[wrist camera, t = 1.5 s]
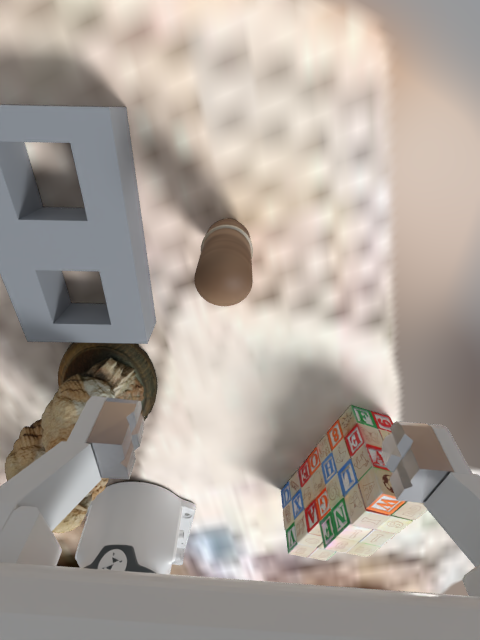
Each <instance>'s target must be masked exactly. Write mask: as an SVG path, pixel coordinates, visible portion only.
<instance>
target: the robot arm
mask: <svg viewBox="0 0 480 640" xmlns="http://www.w3.org/2000/svg"><path fill="white" fill-rule="evenodd" d="M141 410H142V405H141V401H136V400H127V399H117V398H108V397H97V396H92V397H91V398H90V399H89V400H88V401H87V403H86V405H85V407H84V409H83V411H82V413H81V414H80V416H79V418H78V420H77V422H76V424H75V426H74V428H73V430H72V432H71V434H70V436H69V438H68V440H67V442H66V441H61V442H60V443H59V444H57V445H56V446H55V447H53V448H52V449H50V450H49V451H48V452H46V453H45V454H44V455H42V456H41V457H40V458H38V459H37V460H36V461H34V462H33V463H31V464H30V465H29V466H27V467H26V468H25V469H23V470H22V471H21V472H19V473H18V474H16V475H15V476H14V477H12V478H11V479H10V480H8V481H7V482H6V483H4V484H3V485H2V486H0V640H480V476H479V475H477V474H473V473H472V472H471V470H470V468H469V466H468V464H467V463H466V461H465V459H464V457H463V455H462V453H461V452H460V450H459V448H458V446H457V444H456V443H455V441H454V439H453V437H452V435H451V434H450V432H449V430H448V428H446V427H445V426H444V425H433V424H426V423H411V422H395V423H393V424H392V426H391V428H390V429H391V432H392V433H391V434H389V435H387V436H386V437H385V439H384V441H383V443H382V458H383V461H384V464H385V466H386V467H387V468H388V469H389V470H390V471H391V472H392V474H391V477H390V479H389V480H390V482H391V485H392V488H393V491H394V494H395V497H396V500H399V501H408V502H417V503H424V504H423V505H424V506H425V507H426V508H427V510H428V511H429V512H430V513H431V514H432V516H433V517H434V518H435V519H436V520H437V522H438V523H439V524H440V525H441V526H442V528H443V529H444V530H445V531H446V532H447V533H448V535H449V536H450V537H451V538H452V539H453V541H454V542H455V543H456V544H457V545H458V547H459V548H460V549H461V550H462V551H463V553H464V554H465V555H466V556H467V557H468V559H469V560H470V561H471V562H472V563H473V564H474V566H475V568H474V569H472V570H471V571H470V572H468V573H467V574H466V575H465V576H464V578H463V582H464V585H465V587H466V590H467V592H468V595H469V596H459V595H446V594H432V593H418V592H405V591H391V590H377V589H363V588H350V587H336V586H322V585H308V584H295V583H281V582H267V581H253V580H239V579H226V578H212V577H198V576H184V575H170V571H171V565H172V564H175V565H182V564H183V558H184V550H185V548H186V544H187V541H188V537H189V533H190V529H191V526H192V522H193V518H194V514H195V510H196V505H195V504H193V503H191V502H189V501H186V500H183V499H181V498H179V497H177V496H176V495H175V494H173V493H172V492H170V491H169V490H167V489H165V488H162V487H160V486H157V485H154V484H149V483H144V482H121V483H116V484H112V485H110V486H107V487H106V488H105V489H104V491H102V492H101V493H99V494H98V495H97V496H96V498H95V499H94V500H93V501H91V504H90V506H89V507H88V512H87V514H86V515H87V519H86V522H85V526H84V529H83V532H82V535H81V538H80V542H79V545H78V548H77V552H76V556H75V559H76V560H77V563H78V565H79V566H80V568H74V567H60V566H56V565H57V562H58V559H59V557H60V554H61V552H62V549H61V547H60V545H59V543H58V541H57V540H56V538H55V536H54V535H53V533H52V531H53V530H54V529H55V527H56V526H57V525H58V524H59V523H60V522H61V521H62V520H63V519H64V518H65V517H66V516H67V515H68V514H69V513H70V512H71V511H72V510H73V509H74V508H75V507H76V506H77V505H78V504H79V503H80V502H81V500H82V499H83V498H84V497H85V496H86V495H87V494H88V493H89V492H90V491H91V490H92V489H93V488H94V487H95V486H96V485H97V484H98V483H99V482H100V481H101V478H112V479H130V475H131V472H132V469H133V466H134V463H135V460H136V458H135V452H134V451H135V450H136V449H137V448H138V447H139V446H140V443H141V440H142V436H143V430H144V418H143V416H142V415H141V414H140V413H141Z"/></svg>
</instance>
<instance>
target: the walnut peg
mask: <svg viewBox="0 0 480 640" xmlns="http://www.w3.org/2000/svg"><path fill="white" fill-rule="evenodd" d="M252 254H253V248H252V243H251V240H250V236H249V233H248V231H247V229H246V228H245V227H244V226H243V225H242V224H241V223H239V222H238V221H236V220H234V219H229V218H227V219H223V220H220V221H217V222H216V223H214V224H213V225H212V226H211V227H210V228H209V230H208V232H207V234H206V235H205V237H204V239H203V242H202V245H201V255H200V259H199V262H198V266H197V269H196V273H195V285H196V288H197V291H198V292H199V294H200V295H201V296H202V297H203V298H204V299H205V300H206V301H208V302H210V303H212V304H214V305H218V306H231V305H234V304H237V303H239V302H241V301H242V300H243V299H244V298H246V296H247V295H248V294H249V292H250V290H251V287H252V262H251V259H252Z"/></svg>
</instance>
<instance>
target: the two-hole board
mask: <svg viewBox="0 0 480 640" xmlns="http://www.w3.org/2000/svg"><path fill="white" fill-rule="evenodd" d="M24 142H55V143H70V144H71V149H72V153H73V158H74V162H75V166H76V171H77V175H78V180H79V184H80V189H81V193H82V197H83V202H84V206H85V208H63V207H43V205H42V201H41V198H40V195H39V191H38V188H37V184H36V181H35V177H34V174H33V171H32V167H31V164H30V160H29V157H28V153H27V150H26V147H25V143H24ZM62 271H99V272H100V277H101V281H102V286H103V290H104V295H105V299H106V303H107V304H90V303H71V301H70V297H69V294H68V291H67V287H66V284H65V280H64V277H63V273H62ZM0 274H1V277H2V279H3V282H4V284H5V287H6V289H7V292H8V294H9V297H10V299H11V302H12V304H13V307H14V309H15V312H16V314H17V317H18V319H19V322H20V324H21V327H22V329H23V332H24V334H25V337H26V339H27V341H28V342H82V343H136V344H148V341H149V339H150V336H151V334H152V331H153V329H154V326H155V324H156V317H155V310H154V303H153V296H152V288H151V281H150V274H149V267H148V260H147V253H146V245H145V238H144V231H143V224H142V217H141V210H140V202H139V195H138V188H137V181H136V174H135V167H134V159H133V152H132V145H131V138H130V131H129V124H128V117H127V109H126V107H96V106H47V105H0Z"/></svg>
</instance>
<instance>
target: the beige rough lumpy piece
mask: <svg viewBox="0 0 480 640" xmlns="http://www.w3.org/2000/svg"><path fill="white" fill-rule="evenodd" d="M58 385H59V389H58V392H57V393H56V394H55V395H54V398H53V400H51V402H50V403H49V404H48V406H47V407H46V409H45V412H44V413H43V415H42V419H40V420H38V421H36V422H35V423H33V424H32V425H31V426H30V427H27V426H26V427H24V428H23V429H22V431H21V432H20V436H19V439H18V440H16V442H15V443H14V446H13V447H14V449H13V451H12V452H11V453H10V454H9V455H8V457H7V458H6V463H5V473H6V479H7V481H8V480H10V479H11V478H12V477H14V476H15V475H16V474H18V473H19V472H21V471H22V470H23V469H25V468H26V467H27V466H29V465H30V464H31V463H33V462H34V461H36V460H37V459H38V458H40V457H41V456H42V455H44V454H45V453H46V452H48V451H49V450H50V449H52V448H53V447H55V446H56V445H57V444H59V443H60V442H61V441H66V442H67V440H68V438H69V436H70V434H71V432H72V430H73V428H74V426H75V424H76V422H77V420H78V418H79V416H80V414H81V413H82V411H83V409H84V407H85V405H86V403H87V401H88V400H89V399H90V398H91V397H92V396H97V397H108V398H117V399H127V400H136V401H141V405H142V410H141V413H140V414H141V415H142V416H143V418H144V421H145V419H146V418H147V416H148V414H149V413H150V412H151V410H152V408H153V405H154V403H155V398H156V394H157V377H156V373H155V369H154V367H153V364H152V362H151V360H150V359H149V356H148V355H147V353H145V352H144V351H143V350H142V349H140V348H139V345H138V344H136V343H82V342H73V343H72V344H71V346H70V347H69V348H68V349H67V351H66V353H65V354H64V356H63V358H62V361H61V363H60V367H59V371H58ZM144 416H145V417H144ZM108 479H109V478H101V481H100V482H99V483H98V484H97V485H96V486H95V487H94V488H93V489H92V490H91V491H90V492H89V493H88V494H87V495H86V496H85V497H84V498H83V499H82V500H81V502H80V503H79V504H78V505H77V506H76V507H75V508H74V509H73V510H72V511H71V512H70V513H69V514H68V515H67V516H66V517H65V518H64V519H63V520H62V521H61V522H60V523H59V524H58V525H57V526H56V527H55V529H54V530H53V531H52V533H53V532H55V533H64V532H67V531H69V532H70V531H72V530H73V529H75V528H76V527H78V526H80V524H81V522H82V521H83V520H84V518H85V516H86V514H87V512H88V507H89V506H90V504H91V501H93V500H94V499H95V498H96V496H97V495H98V494H99V493H101V492H102V491H104V489H105V488H106V484H107V482H108Z"/></svg>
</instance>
